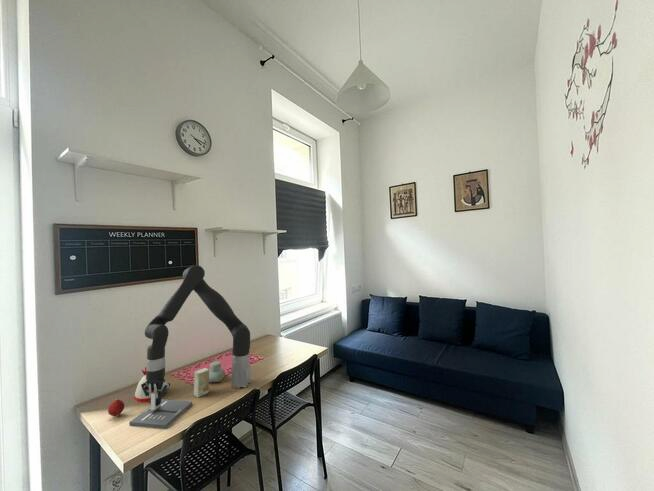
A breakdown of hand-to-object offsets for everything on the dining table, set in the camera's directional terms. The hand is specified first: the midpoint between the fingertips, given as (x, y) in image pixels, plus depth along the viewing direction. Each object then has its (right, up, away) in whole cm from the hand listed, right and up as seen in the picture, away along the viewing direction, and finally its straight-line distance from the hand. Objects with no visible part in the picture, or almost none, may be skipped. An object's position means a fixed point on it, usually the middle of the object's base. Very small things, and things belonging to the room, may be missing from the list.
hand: (155, 404), depth 122 cm
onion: (-17, -4, -2) cm, 17 cm away
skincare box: (+13, -5, +17) cm, 22 cm away
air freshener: (+14, -5, +32) cm, 36 cm away
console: (+4, -4, -1) cm, 6 cm away
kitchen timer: (-13, -5, +17) cm, 22 cm away
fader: (0, -2, 0) cm, 2 cm away
